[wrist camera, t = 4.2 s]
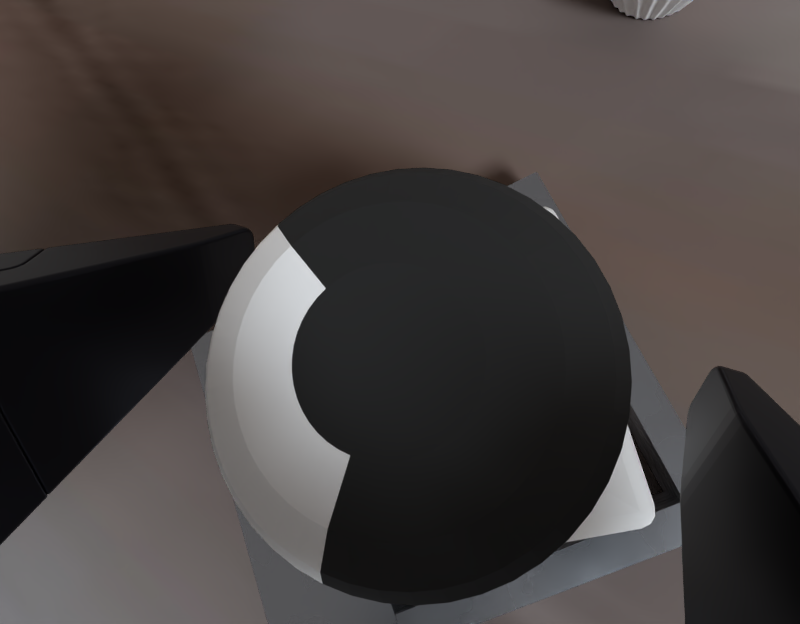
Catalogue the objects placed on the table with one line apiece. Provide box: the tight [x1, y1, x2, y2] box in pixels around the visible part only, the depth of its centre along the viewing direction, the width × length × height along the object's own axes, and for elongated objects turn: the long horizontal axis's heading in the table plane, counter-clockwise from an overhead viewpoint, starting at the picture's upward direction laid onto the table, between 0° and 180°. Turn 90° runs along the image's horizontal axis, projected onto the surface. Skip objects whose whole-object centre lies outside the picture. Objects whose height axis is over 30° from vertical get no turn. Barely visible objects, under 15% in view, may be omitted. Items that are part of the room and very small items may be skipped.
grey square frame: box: [191, 172, 686, 624], centre depth 17 cm, size 14×12×2 cm
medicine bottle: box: [205, 168, 655, 606], centre depth 12 cm, size 7×7×12 cm
